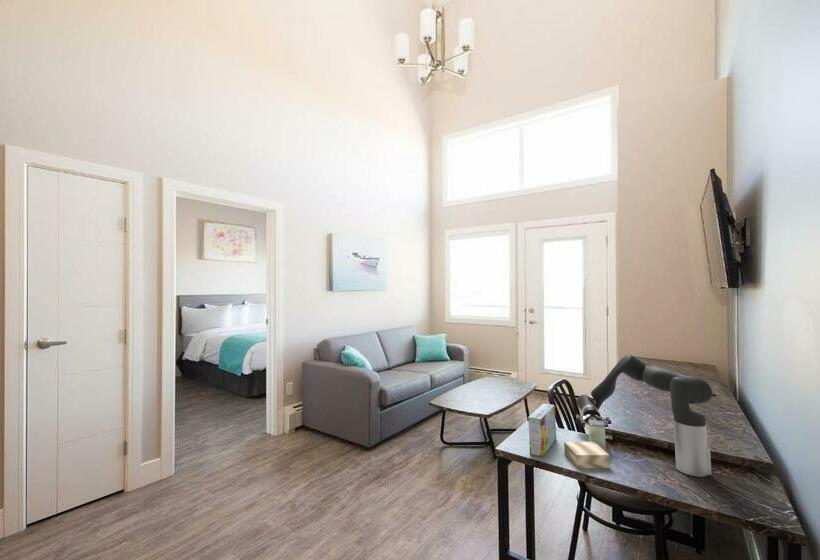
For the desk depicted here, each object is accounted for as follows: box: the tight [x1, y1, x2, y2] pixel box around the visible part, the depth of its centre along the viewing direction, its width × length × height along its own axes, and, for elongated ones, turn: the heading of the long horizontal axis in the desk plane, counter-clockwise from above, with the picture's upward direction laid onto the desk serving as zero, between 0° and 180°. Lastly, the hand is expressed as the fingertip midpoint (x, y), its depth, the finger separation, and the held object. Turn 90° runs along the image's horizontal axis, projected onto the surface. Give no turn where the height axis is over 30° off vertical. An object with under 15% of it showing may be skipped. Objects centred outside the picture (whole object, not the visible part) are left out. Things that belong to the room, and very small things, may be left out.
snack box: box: [527, 403, 557, 458], centre depth 154 cm, size 21×6×15 cm, turn 144°
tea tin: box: [588, 420, 607, 451], centre depth 153 cm, size 6×6×10 cm
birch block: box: [563, 441, 611, 469], centre depth 141 cm, size 12×12×5 cm
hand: (594, 426), depth 160 cm, fingers open, 8 cm apart
